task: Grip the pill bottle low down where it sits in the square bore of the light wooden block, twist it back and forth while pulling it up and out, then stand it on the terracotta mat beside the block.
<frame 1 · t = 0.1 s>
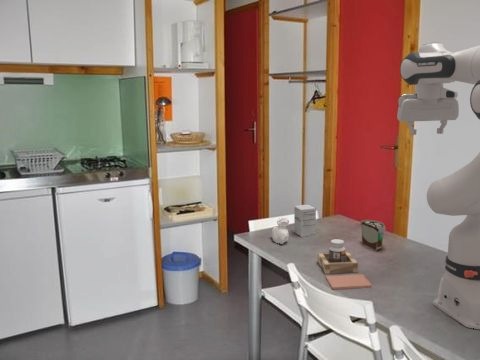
hand: (426, 134, 162), 48 cm above the table, tool pointing down, fingers open, 8 cm apart
food container: (375, 247, 192), on the table
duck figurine: (281, 241, 201), on the table
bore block: (337, 266, 172), on the table
mat: (348, 282, 158), on the table
supplement box: (304, 234, 210), on the table
pill bottle: (337, 267, 172), resting in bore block
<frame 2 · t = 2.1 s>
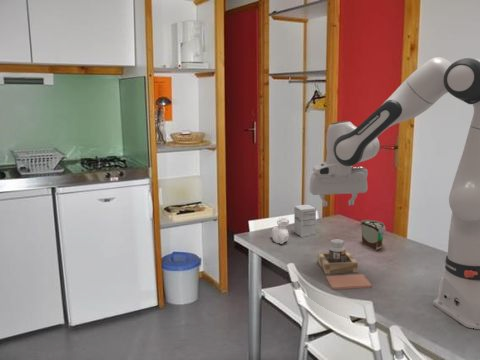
hand: (338, 205, 167), 23 cm above the table, tool pointing down, fingers open, 8 cm apart
nothing on the table moved.
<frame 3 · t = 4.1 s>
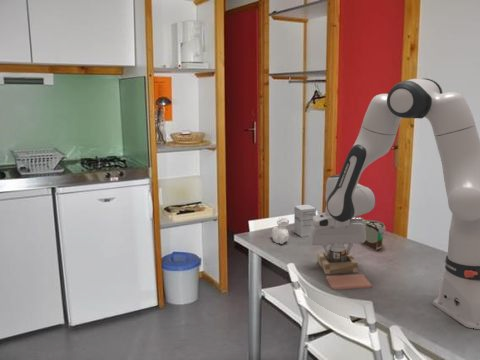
hand: (337, 254, 171), 5 cm above the table, tool pointing down, fingers closed on pill bottle, 6 cm apart
pill bottle: (337, 267, 172), resting in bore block, touching gripper
everything else where it was.
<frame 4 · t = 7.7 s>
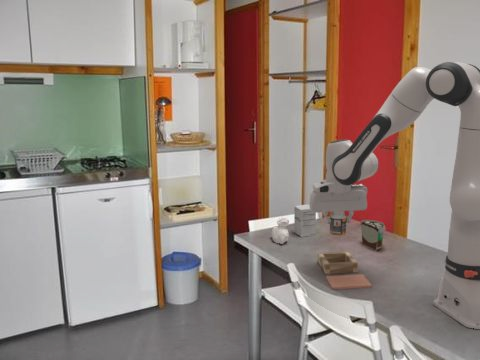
hand: (338, 222, 168), 17 cm above the table, tool pointing down, fingers closed on pill bottle, 6 cm apart
pill bottle: (337, 235, 169), point 12 cm above the table, touching gripper
everything else where it was.
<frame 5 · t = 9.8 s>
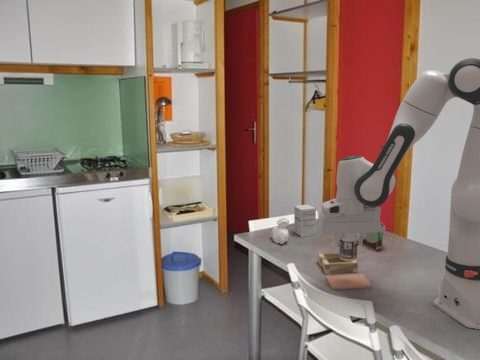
hand: (348, 245, 156), 13 cm above the table, tool pointing down, fingers closed on pill bottle, 6 cm apart
pill bottle: (347, 259, 157), point 8 cm above the table, touching gripper
everything else where it was.
when the fingers open (7 cm above the table, at t = 11.3 s): pill bottle drops 1 cm, resting on mat.
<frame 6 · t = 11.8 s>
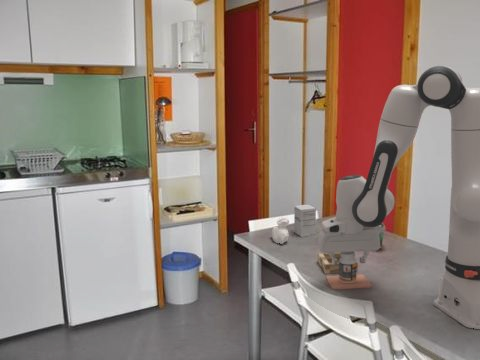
hand: (348, 263, 157), 7 cm above the table, tool pointing down, fingers open, 8 cm apart
pill bottle: (347, 281, 158), point 1 cm above the table, touching mat
everything else where it was.
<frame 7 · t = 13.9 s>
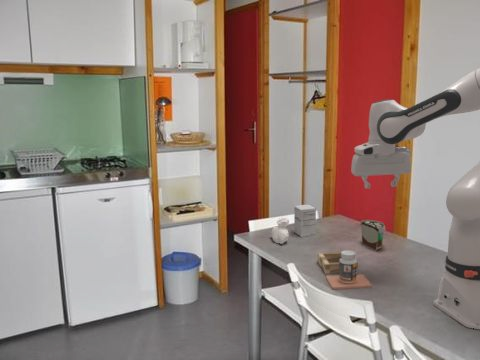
hand: (380, 187, 163), 30 cm above the table, tool pointing down, fingers open, 8 cm apart
nothing on the table moved.
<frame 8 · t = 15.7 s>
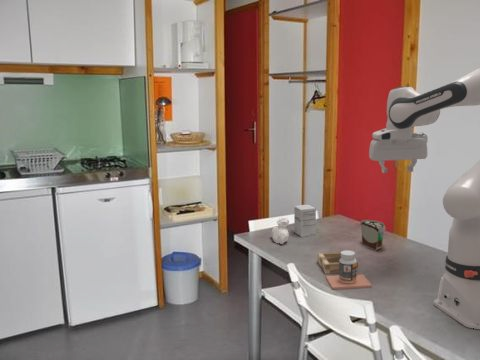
hand: (397, 172, 168), 34 cm above the table, tool pointing down, fingers open, 8 cm apart
nothing on the table moved.
at the end: pill bottle inside the target area on the mat (0.3 cm from its centre), point 0.6 cm above the mat's base; pill bottle tilted 0°; pill bottle touching mat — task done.
